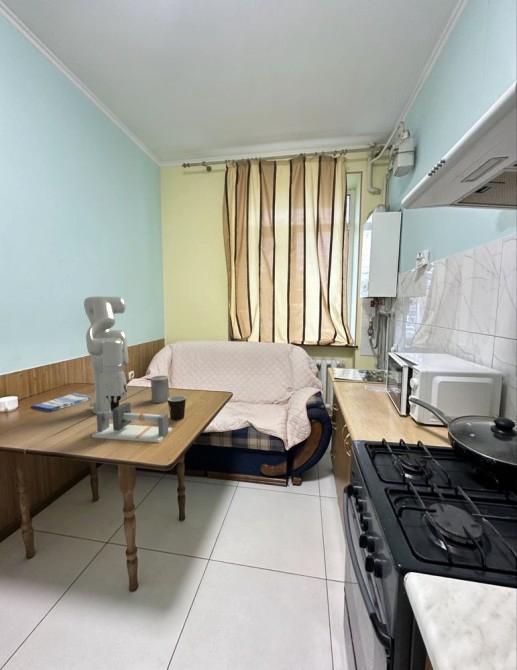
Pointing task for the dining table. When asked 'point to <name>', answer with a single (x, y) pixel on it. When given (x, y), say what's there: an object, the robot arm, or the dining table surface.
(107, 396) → the robot arm
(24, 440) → the dining table surface
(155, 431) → the pipe rig
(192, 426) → the dining table surface
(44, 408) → the dish towel
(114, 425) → the collar
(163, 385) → the pillar candle
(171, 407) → the coffee mug
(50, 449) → the dining table surface
